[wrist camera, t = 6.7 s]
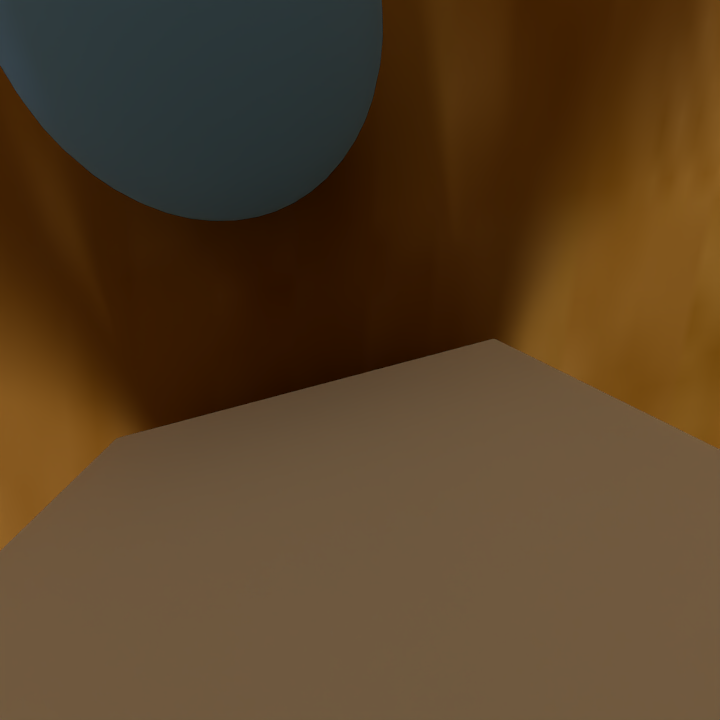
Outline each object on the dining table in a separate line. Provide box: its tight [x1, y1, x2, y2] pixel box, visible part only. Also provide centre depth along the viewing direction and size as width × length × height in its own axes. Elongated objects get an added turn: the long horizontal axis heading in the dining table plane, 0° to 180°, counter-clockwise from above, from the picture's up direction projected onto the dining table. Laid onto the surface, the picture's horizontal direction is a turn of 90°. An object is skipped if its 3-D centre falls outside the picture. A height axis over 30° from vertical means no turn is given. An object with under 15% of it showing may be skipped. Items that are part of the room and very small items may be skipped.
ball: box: [0, 0, 383, 221], centre depth 6 cm, size 5×5×5 cm
